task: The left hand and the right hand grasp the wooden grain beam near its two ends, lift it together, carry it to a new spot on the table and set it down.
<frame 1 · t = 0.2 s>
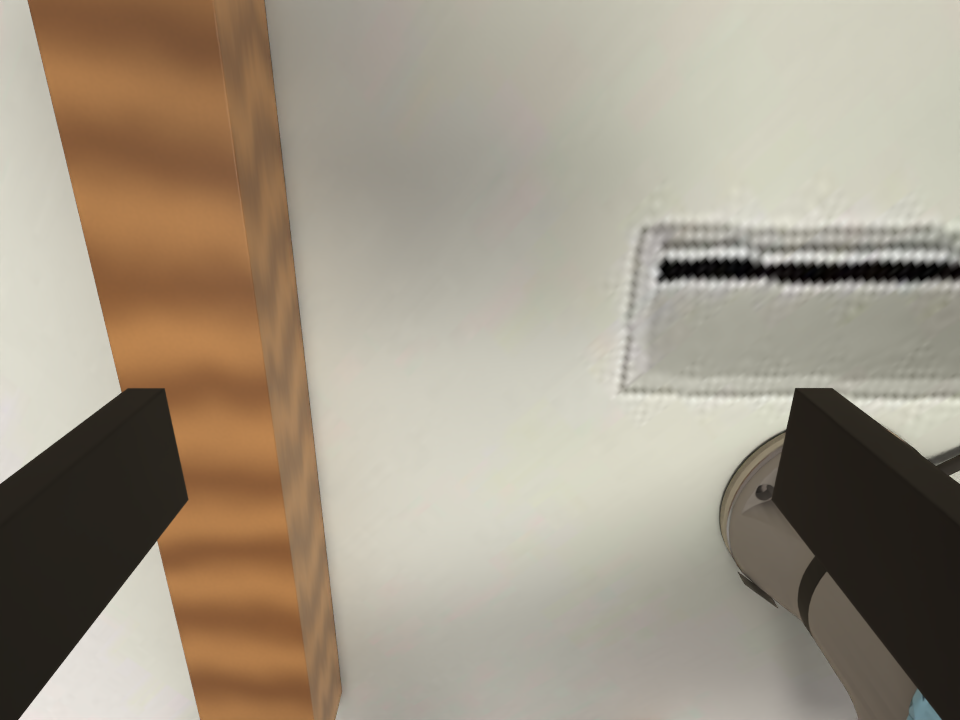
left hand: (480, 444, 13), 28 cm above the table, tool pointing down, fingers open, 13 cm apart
wooden grain beam: (253, 421, 43), on the table
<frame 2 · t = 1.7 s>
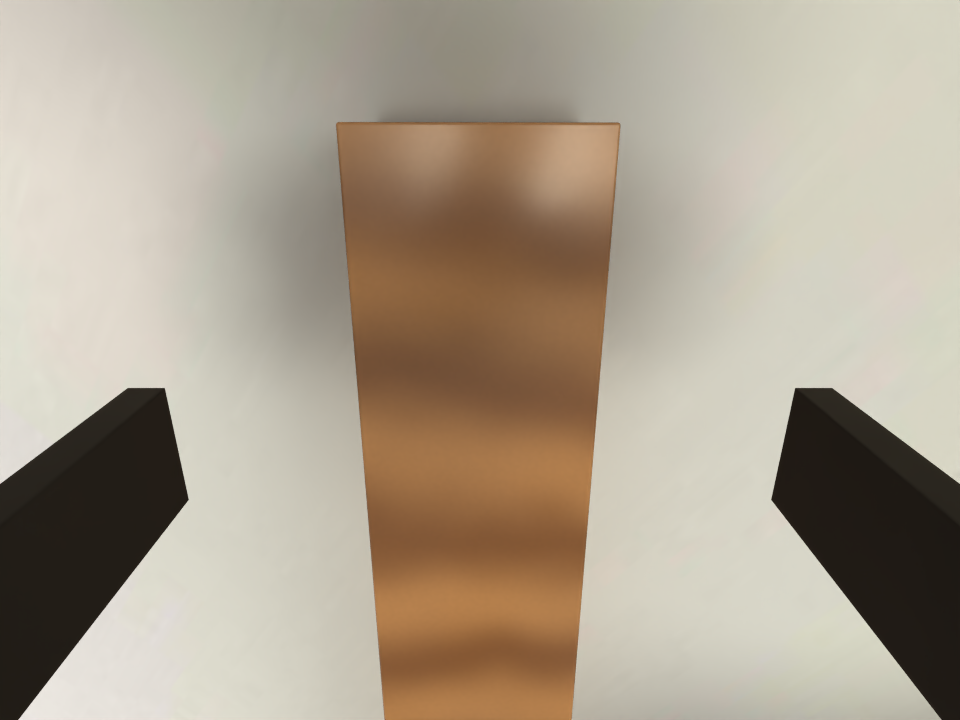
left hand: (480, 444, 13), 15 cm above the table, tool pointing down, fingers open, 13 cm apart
wooden grain beam: (478, 626, 35), on the table
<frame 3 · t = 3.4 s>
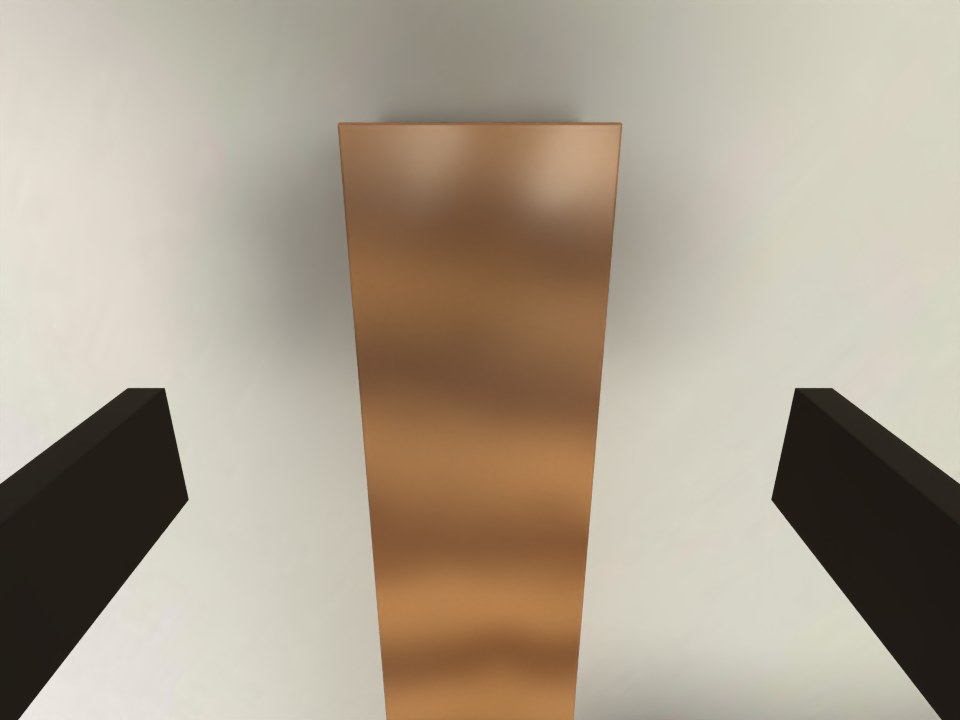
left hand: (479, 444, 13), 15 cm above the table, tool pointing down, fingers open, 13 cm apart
wooden grain beam: (480, 626, 35), on the table, touching right hand
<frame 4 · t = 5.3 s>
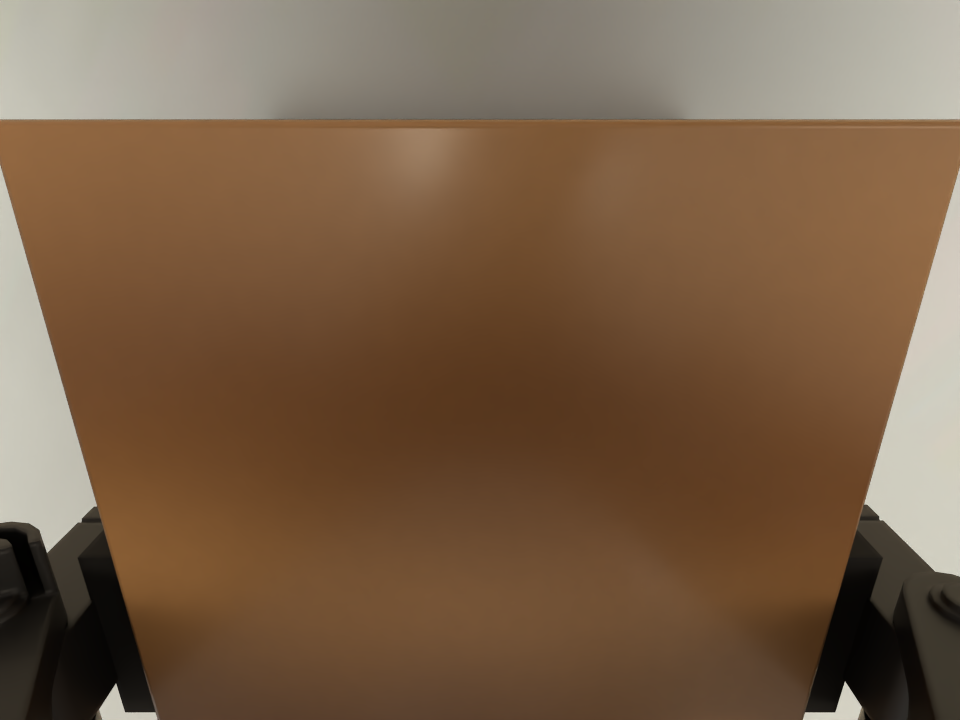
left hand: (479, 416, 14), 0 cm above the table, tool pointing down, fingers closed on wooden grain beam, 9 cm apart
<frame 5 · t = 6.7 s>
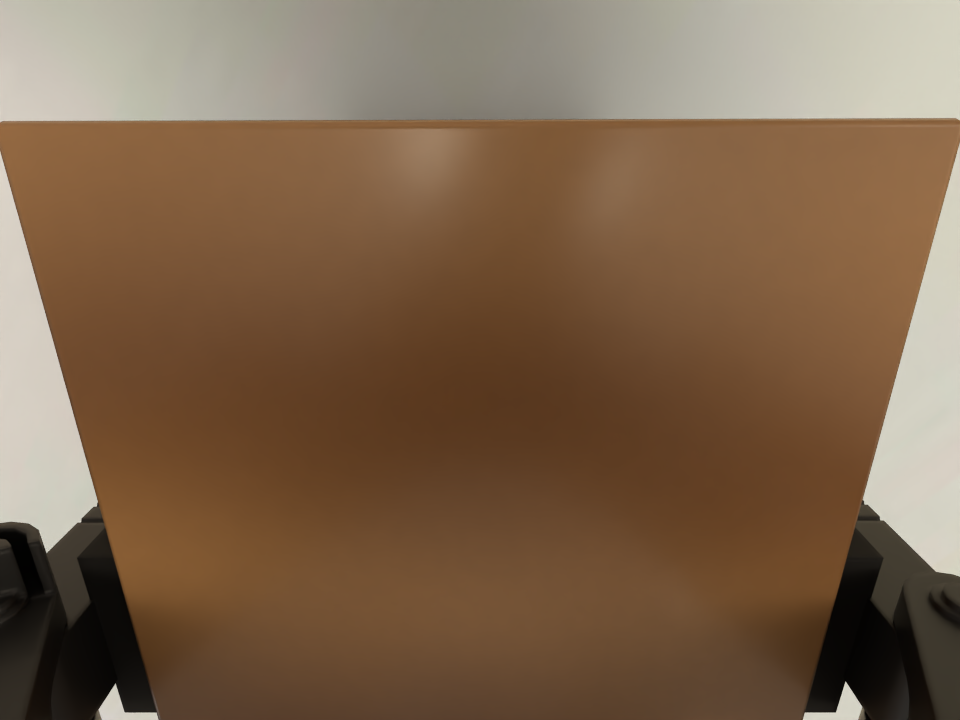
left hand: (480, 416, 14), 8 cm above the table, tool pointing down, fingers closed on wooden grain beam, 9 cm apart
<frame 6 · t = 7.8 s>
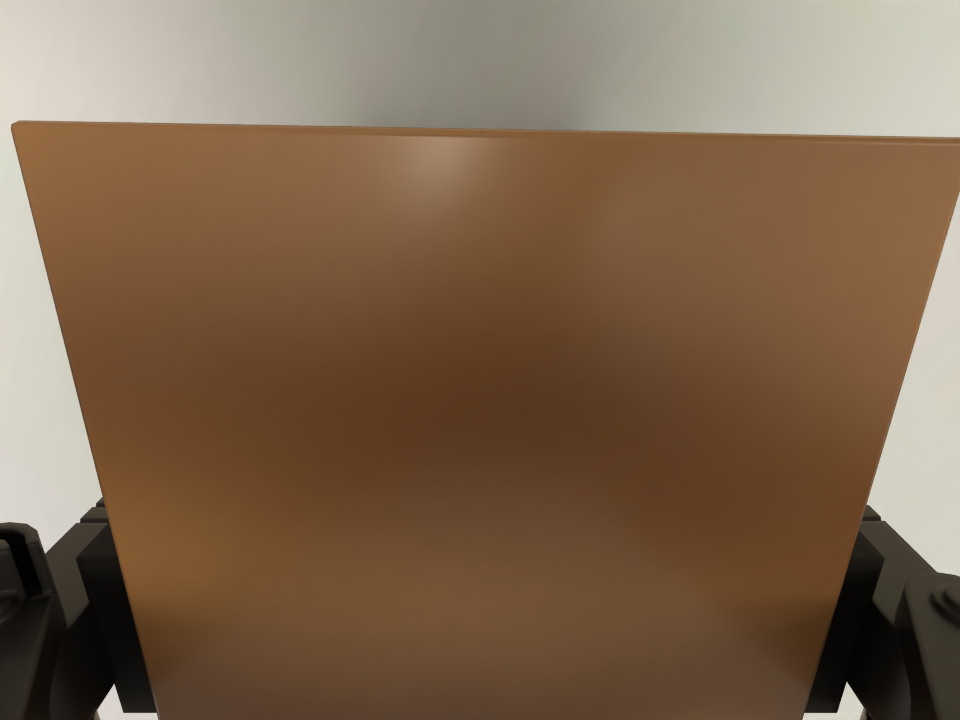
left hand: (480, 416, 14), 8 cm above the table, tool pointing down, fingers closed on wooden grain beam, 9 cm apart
when the right hand's fingers open (1 cm above the table, at t = 10.3 s): wooden grain beam stays where it is, on the table.
when the left hand's fingers open (2 cm above the table, at t = 10.4 s): wooden grain beam stays where it is, on the table.
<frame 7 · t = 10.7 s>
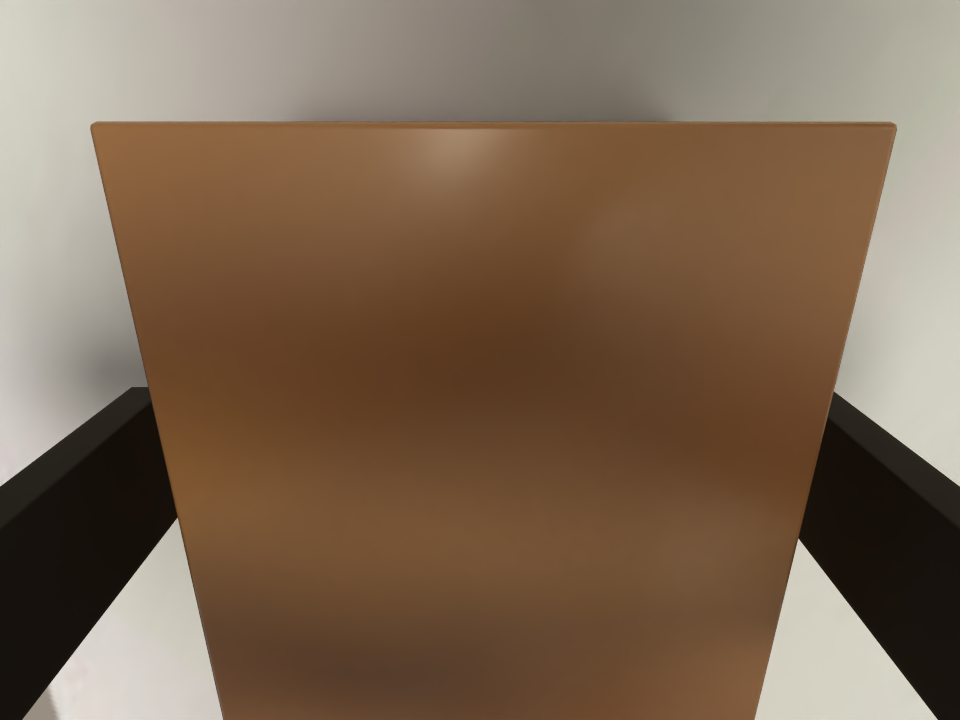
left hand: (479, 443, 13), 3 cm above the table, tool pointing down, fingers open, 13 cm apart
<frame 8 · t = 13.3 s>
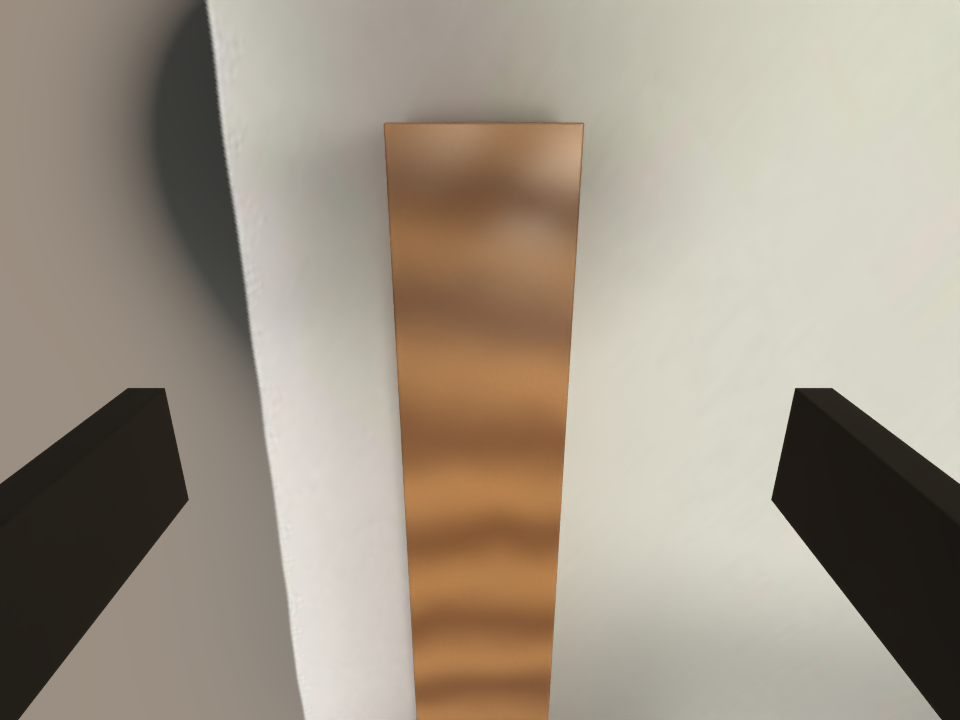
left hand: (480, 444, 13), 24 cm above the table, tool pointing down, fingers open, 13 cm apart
wooden grain beam: (482, 536, 42), on the table
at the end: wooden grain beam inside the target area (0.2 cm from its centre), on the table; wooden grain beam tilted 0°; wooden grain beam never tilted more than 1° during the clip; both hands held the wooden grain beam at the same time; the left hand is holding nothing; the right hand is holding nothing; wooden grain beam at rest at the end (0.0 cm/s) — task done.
